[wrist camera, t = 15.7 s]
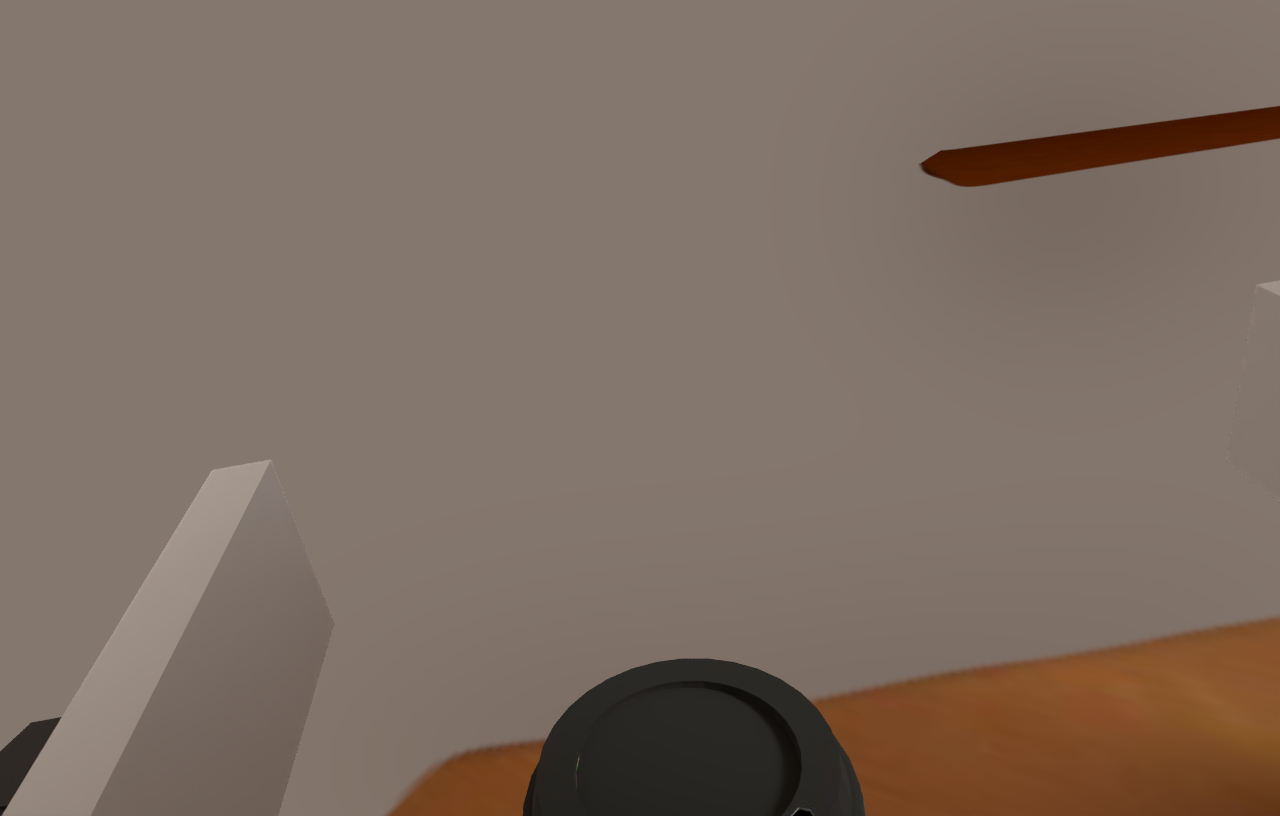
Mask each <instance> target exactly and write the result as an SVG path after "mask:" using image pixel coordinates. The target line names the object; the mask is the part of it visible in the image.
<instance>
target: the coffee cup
mask: <svg viewBox="0 0 1280 816" xmlns="http://www.w3.org/2000/svg"><path fill="white" fill-rule="evenodd" d="M523 816H866V814H865V807H864V800H863V795H862V792H861V788H860V784H859V782H858V779H857V776H856V774H855V771H854V769H853V766H852V764H851V761H850V759H849V757H848V756H847V754H846V753H845V751H844V750H843V748H842V747H841V745H840V744H839V742H838V741H837V739H836V738H835V736H834V735H833V734H832V731H831V728H830V727H829V725H828V724H827V722H826V721H825V719H824V718H823V716H822V715H821V713H820V712H819V710H818V709H817V708H816V707H815V706H814V705H813V704H812V703H811V702H810V701H809V700H808V699H807V698H806V697H805V696H803V694H802V693H800V692H799V691H798V690H796V689H795V688H793V687H792V686H790V685H788V684H787V683H786V682H784V681H783V680H781V679H779V678H777V677H775V676H772V675H770V674H768V673H766V672H764V671H761V670H759V669H756V668H753V667H749V666H746V665H742V664H738V663H735V662H728V661H722V660H714V659H676V660H668V661H661V662H655V663H651V664H648V665H644V666H640V667H636V668H633V669H630V670H628V671H625V672H623V673H621V674H618V675H616V676H614V677H611V678H609V679H607V680H605V681H604V682H603V683H601V684H599V685H597V686H596V687H594V688H592V689H591V690H589V691H588V692H586V693H585V694H584V695H583V696H582V697H580V698H579V699H578V700H577V701H576V702H575V703H573V704H572V705H571V706H570V707H569V708H568V709H567V711H566V712H565V713H564V714H563V715H562V716H561V718H560V719H559V720H558V721H557V722H556V724H555V725H554V727H553V728H552V730H551V732H550V734H549V736H548V738H547V740H546V742H545V744H544V746H543V749H542V753H541V756H540V760H539V763H538V765H537V767H536V769H535V770H534V772H533V774H532V776H531V780H530V783H529V787H528V791H527V794H526V798H525V802H524V805H523Z"/></svg>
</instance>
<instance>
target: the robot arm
mask: <svg viewBox="0 0 1280 816" xmlns="http://www.w3.org/2000/svg"><path fill="white" fill-rule="evenodd" d="M1226 462H1227V463H1228V464H1230V465H1231V466H1233V467H1234V468H1235V469H1236V470H1238V471H1239V472H1240V473H1242V474H1243V475H1244V476H1246V477H1247V478H1248V479H1250V480H1251V481H1252V482H1253V483H1255V484H1256V485H1257V486H1259V487H1260V488H1262V489H1263V490H1264V491H1266V492H1267V493H1268V494H1269V495H1271V496H1272V497H1273V498H1275V499H1276V500H1277V501H1279V502H1280V281H1275V282H1269V283H1263V284H1258V285H1257V286H1256V290H1255V296H1254V302H1253V308H1252V314H1251V319H1250V325H1249V331H1248V337H1247V343H1246V349H1245V354H1244V360H1243V367H1242V372H1241V378H1240V383H1239V389H1238V395H1237V401H1236V407H1235V413H1234V418H1233V425H1232V430H1231V436H1230V442H1229V448H1228V454H1227V460H1226ZM333 627H334V621H333V619H332V616H331V613H330V611H329V608H328V606H327V603H326V600H325V598H324V595H323V593H322V590H321V587H320V585H319V583H318V580H317V577H316V575H315V572H314V569H313V567H312V564H311V562H310V559H309V557H308V554H307V551H306V549H305V546H304V544H303V541H302V538H301V536H300V533H299V531H298V528H297V525H296V523H295V520H294V518H293V515H292V513H291V510H290V507H289V505H288V502H287V500H286V497H285V494H284V492H283V489H282V487H281V484H280V481H279V479H278V476H277V474H276V471H275V469H274V466H273V463H272V461H271V460H266V461H260V462H255V463H249V464H243V465H238V466H233V467H227V468H221V469H216V470H212V471H211V473H210V474H209V476H208V478H207V479H206V481H205V483H204V484H203V486H202V488H201V489H200V491H199V492H198V494H197V496H196V498H195V499H194V501H193V502H192V504H191V506H190V507H189V509H188V511H187V512H186V514H185V516H184V517H183V519H182V520H181V522H180V524H179V525H178V527H177V529H176V530H175V532H174V534H173V535H172V537H171V538H170V540H169V542H168V543H167V545H166V547H165V548H164V550H163V552H162V553H161V555H160V557H159V558H158V560H157V561H156V563H155V565H154V566H153V568H152V570H151V571H150V573H149V575H148V576H147V578H146V580H145V581H144V583H143V585H142V586H141V588H140V590H139V591H138V593H137V594H136V596H135V598H134V599H133V601H132V603H131V604H130V606H129V608H128V609H127V611H126V612H125V614H124V616H123V617H122V619H121V621H120V622H119V624H118V626H117V627H116V629H115V631H114V632H113V634H112V635H111V637H110V639H109V641H108V642H107V644H106V645H105V647H104V649H103V650H102V652H101V654H100V655H99V657H98V659H97V660H96V662H95V664H94V665H93V667H92V668H91V670H90V672H89V673H88V675H87V677H86V678H85V680H84V682H83V683H82V685H81V687H80V688H79V690H78V691H77V693H76V695H75V696H74V698H73V700H72V701H71V703H70V705H69V706H68V708H67V710H66V711H65V713H64V714H63V716H62V717H60V718H55V719H50V720H43V721H38V722H32V723H30V725H28V726H27V727H26V728H25V729H24V730H23V731H22V732H21V733H20V734H19V735H17V736H16V737H15V738H14V739H13V740H12V741H11V742H10V743H9V744H8V745H7V746H6V747H5V748H4V749H2V750H1V751H0V816H278V814H279V811H280V808H281V804H282V801H283V797H284V794H285V791H286V787H287V784H288V780H289V777H290V774H291V770H292V767H293V763H294V760H295V756H296V753H297V750H298V746H299V743H300V740H301V736H302V733H303V729H304V726H305V723H306V719H307V716H308V712H309V709H310V705H311V702H312V698H313V695H314V692H315V688H316V685H317V682H318V678H319V675H320V671H321V668H322V664H323V661H324V657H325V654H326V651H327V648H328V644H329V641H330V637H331V634H332V630H333Z"/></svg>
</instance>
